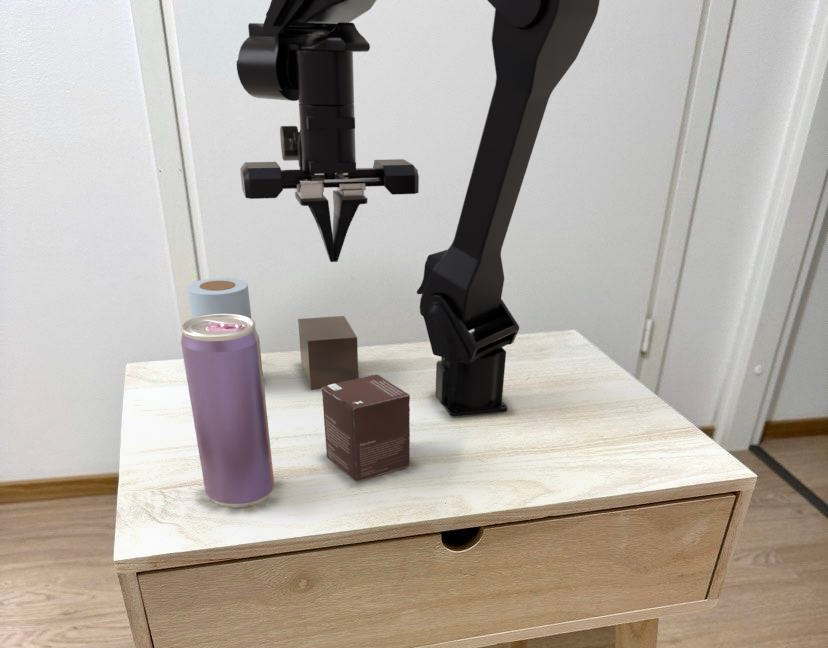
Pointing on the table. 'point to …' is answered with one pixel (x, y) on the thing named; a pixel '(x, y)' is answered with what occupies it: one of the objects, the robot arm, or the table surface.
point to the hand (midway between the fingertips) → (333, 261)
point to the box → (367, 426)
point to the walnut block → (328, 350)
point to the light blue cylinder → (219, 297)
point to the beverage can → (229, 407)
